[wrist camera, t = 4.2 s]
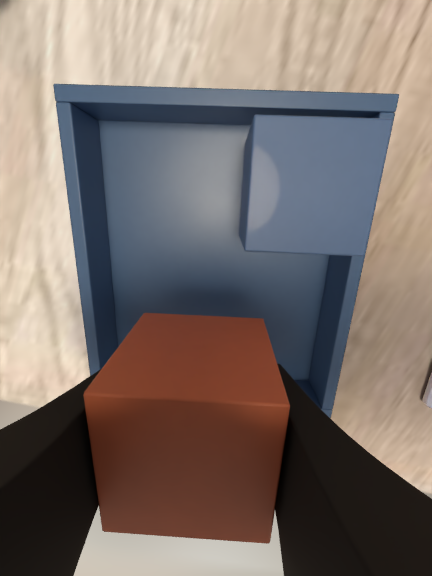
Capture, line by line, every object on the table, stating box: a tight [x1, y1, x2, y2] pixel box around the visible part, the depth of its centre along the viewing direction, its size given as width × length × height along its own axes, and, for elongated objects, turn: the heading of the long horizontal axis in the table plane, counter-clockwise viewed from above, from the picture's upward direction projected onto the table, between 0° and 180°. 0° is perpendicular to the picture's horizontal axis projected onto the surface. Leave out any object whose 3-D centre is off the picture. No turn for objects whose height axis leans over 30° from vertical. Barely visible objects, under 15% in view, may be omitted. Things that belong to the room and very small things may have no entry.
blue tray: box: [54, 84, 399, 418], centre depth 14 cm, size 15×13×3 cm
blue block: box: [239, 114, 393, 256], centre depth 11 cm, size 4×4×4 cm
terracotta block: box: [83, 313, 290, 543], centre depth 9 cm, size 4×4×4 cm
